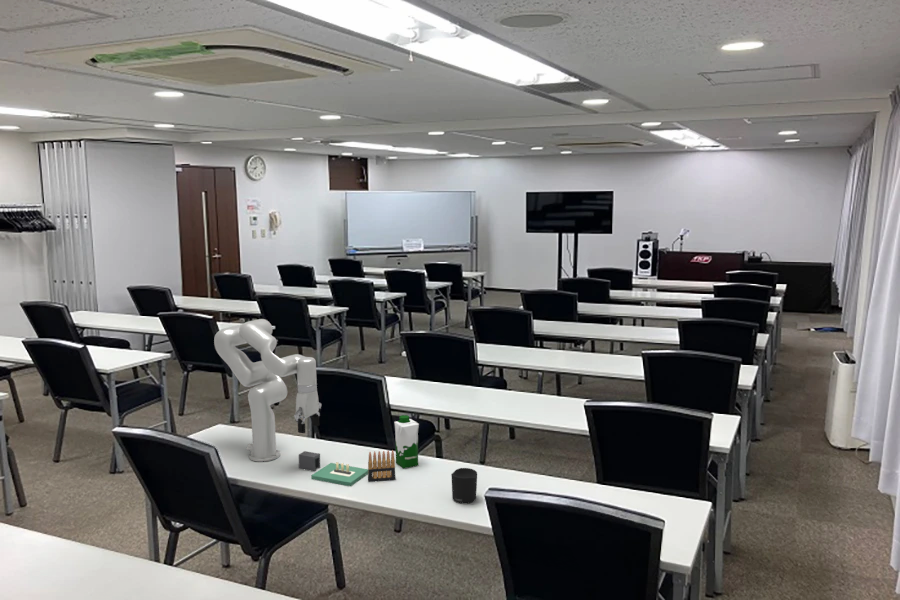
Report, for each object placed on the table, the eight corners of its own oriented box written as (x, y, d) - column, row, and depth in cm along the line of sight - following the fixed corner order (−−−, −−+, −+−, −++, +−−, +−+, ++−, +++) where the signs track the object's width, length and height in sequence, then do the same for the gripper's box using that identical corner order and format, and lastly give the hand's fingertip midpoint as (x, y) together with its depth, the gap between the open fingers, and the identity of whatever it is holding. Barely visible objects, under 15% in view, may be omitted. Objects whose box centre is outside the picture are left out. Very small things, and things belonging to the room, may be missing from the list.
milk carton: (411, 458, 285) (411, 413, 282) (421, 466, 277) (421, 419, 274) (392, 462, 280) (392, 416, 278) (402, 470, 273) (401, 422, 270)
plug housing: (299, 468, 275) (298, 454, 274) (305, 464, 278) (304, 451, 278) (314, 471, 272) (314, 457, 271) (320, 467, 275) (319, 453, 275)
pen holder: (447, 496, 249) (447, 470, 247) (470, 491, 252) (470, 466, 251) (457, 506, 240) (457, 479, 239) (481, 501, 244) (481, 475, 242)
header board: (311, 478, 264) (310, 466, 263) (331, 466, 277) (330, 453, 276) (350, 486, 257) (350, 473, 256) (369, 473, 270) (368, 460, 269)
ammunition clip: (395, 478, 265) (394, 448, 263) (395, 480, 263) (395, 450, 261) (367, 480, 263) (367, 450, 261) (368, 482, 261) (367, 452, 259)
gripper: (311, 382, 280) (313, 421, 282) (286, 392, 264) (288, 434, 266) (327, 383, 277) (328, 423, 279) (302, 394, 261) (304, 437, 263)
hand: (308, 429), depth 273 cm, fingers open, 9 cm apart
